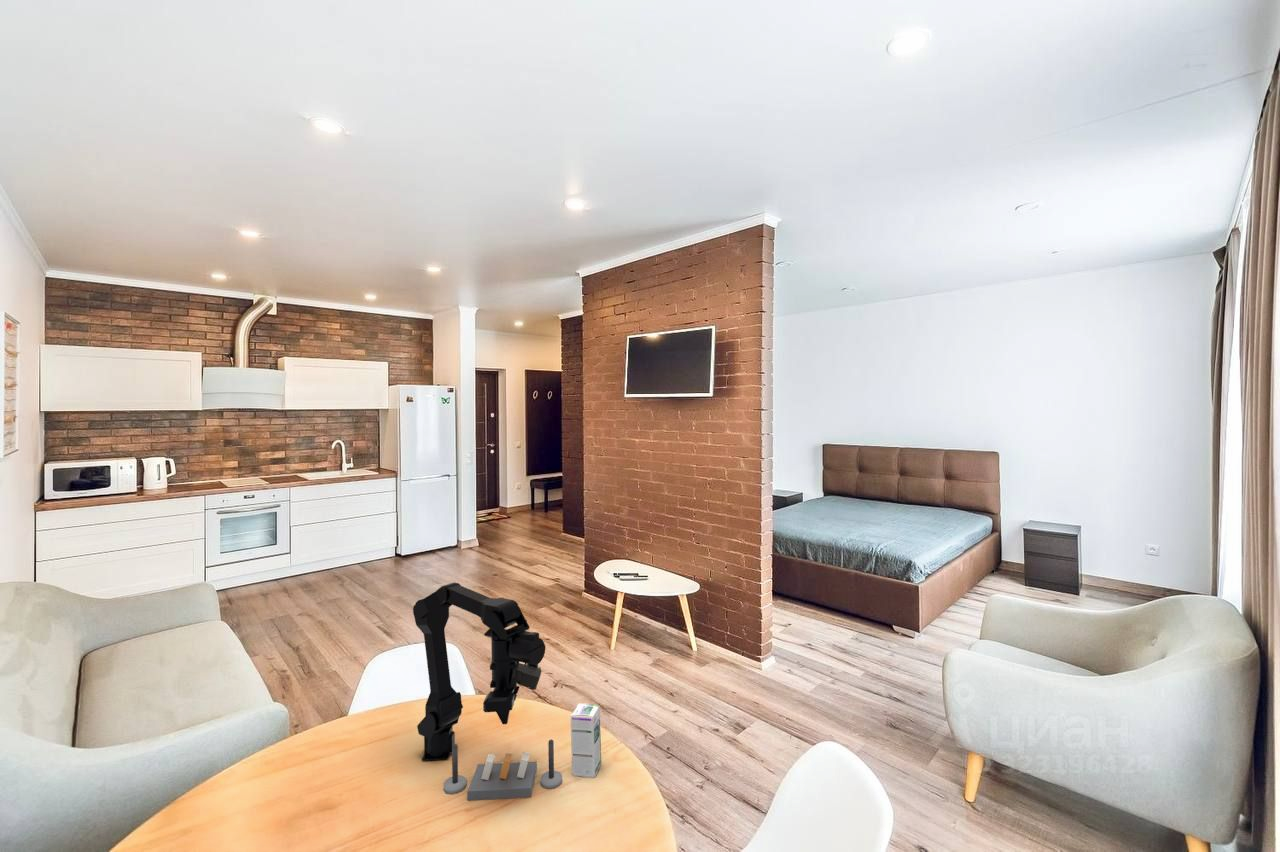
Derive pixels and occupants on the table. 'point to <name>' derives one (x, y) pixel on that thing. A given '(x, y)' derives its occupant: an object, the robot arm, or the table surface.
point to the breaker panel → (502, 783)
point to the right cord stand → (551, 771)
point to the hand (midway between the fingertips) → (505, 723)
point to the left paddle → (488, 767)
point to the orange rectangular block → (505, 766)
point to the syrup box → (586, 740)
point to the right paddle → (523, 765)
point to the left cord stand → (455, 776)
